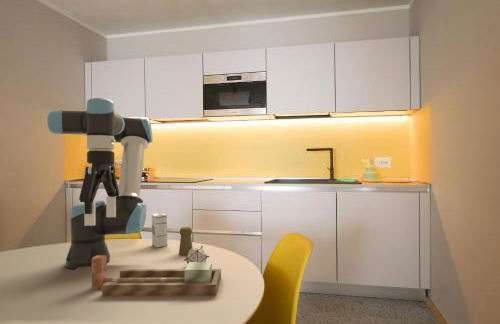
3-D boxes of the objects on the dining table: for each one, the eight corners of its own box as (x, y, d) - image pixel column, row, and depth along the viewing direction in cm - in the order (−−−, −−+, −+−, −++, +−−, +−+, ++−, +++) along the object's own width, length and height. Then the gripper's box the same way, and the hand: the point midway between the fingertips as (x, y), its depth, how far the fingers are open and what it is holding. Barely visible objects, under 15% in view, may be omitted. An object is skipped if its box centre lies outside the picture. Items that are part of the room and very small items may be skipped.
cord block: (88, 291, 91) (88, 260, 91) (100, 282, 98) (99, 253, 98) (208, 291, 91) (208, 259, 91) (212, 281, 98) (211, 252, 98)
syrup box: (167, 245, 145) (167, 214, 145) (155, 247, 142) (154, 215, 142) (164, 243, 150) (163, 212, 150) (151, 245, 147) (151, 213, 147)
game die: (199, 281, 111) (202, 264, 105) (178, 271, 113) (180, 253, 107) (211, 262, 118) (214, 245, 112) (190, 253, 120) (193, 235, 114)
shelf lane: (102, 299, 88) (102, 285, 88) (121, 281, 101) (121, 269, 101) (216, 299, 88) (216, 284, 88) (221, 281, 101) (220, 268, 101)
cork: (179, 251, 135) (179, 226, 135) (194, 251, 136) (193, 225, 136) (177, 255, 129) (177, 228, 129) (192, 255, 130) (192, 228, 130)
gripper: (92, 148, 83) (93, 229, 83) (129, 151, 108) (129, 214, 108) (64, 148, 83) (64, 229, 83) (107, 152, 108) (107, 214, 108)
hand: (101, 221), depth 95 cm, fingers open, 13 cm apart
